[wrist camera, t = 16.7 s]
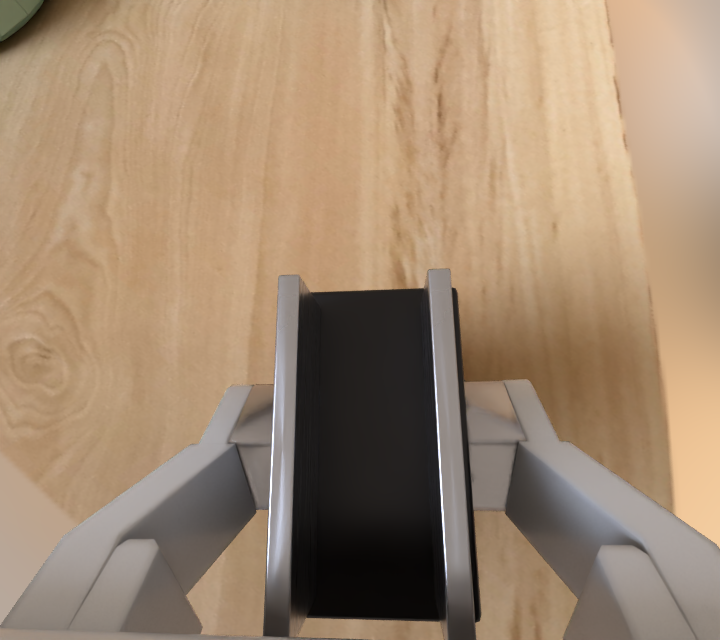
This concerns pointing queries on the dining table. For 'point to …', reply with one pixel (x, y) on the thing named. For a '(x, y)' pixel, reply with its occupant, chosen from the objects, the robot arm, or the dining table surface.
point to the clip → (370, 461)
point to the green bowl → (16, 15)
